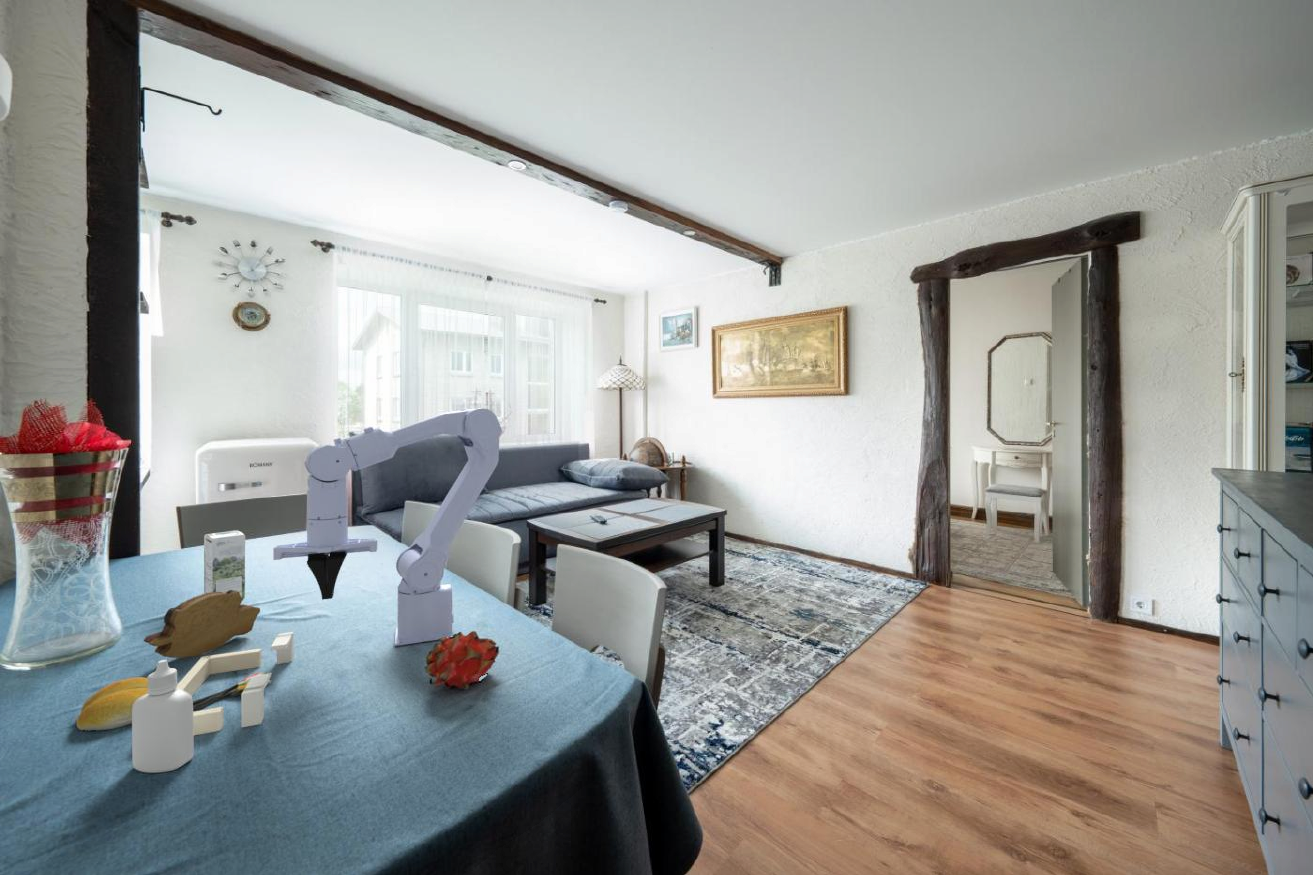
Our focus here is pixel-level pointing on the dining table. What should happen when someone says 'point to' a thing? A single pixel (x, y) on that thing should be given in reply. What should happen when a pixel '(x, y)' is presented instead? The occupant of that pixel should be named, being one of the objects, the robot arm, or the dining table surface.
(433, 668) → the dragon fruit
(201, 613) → the wooden carving
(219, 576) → the syrup box
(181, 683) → the end holder
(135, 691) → the bread roll
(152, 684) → the eye dropper bottle
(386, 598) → the dining table surface
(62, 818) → the dining table surface
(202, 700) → the composite cable
